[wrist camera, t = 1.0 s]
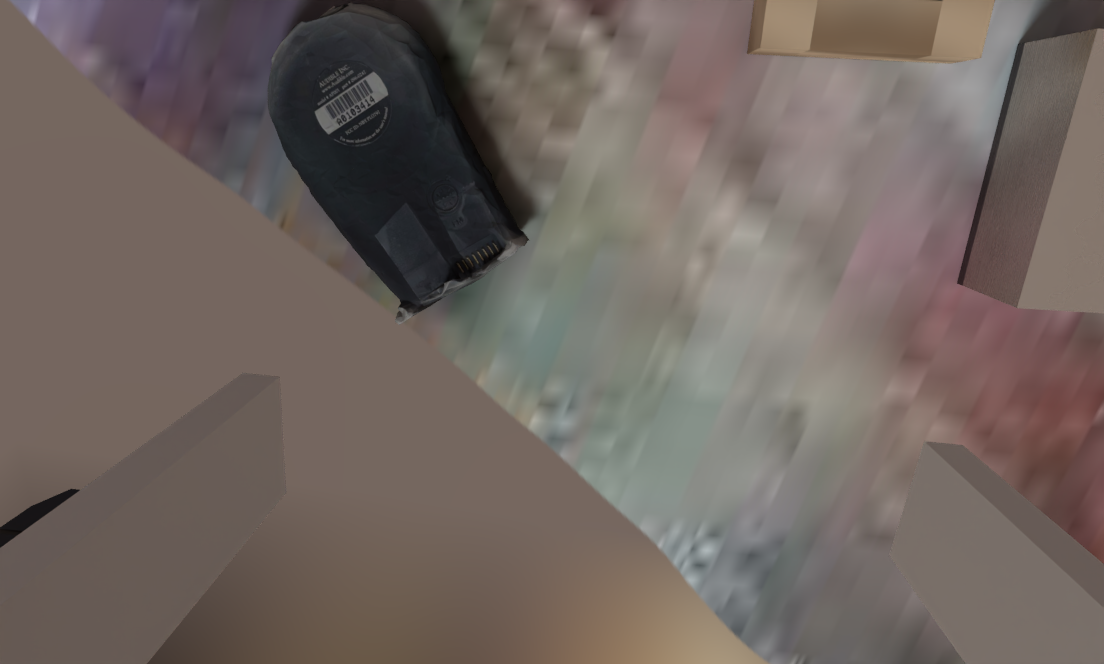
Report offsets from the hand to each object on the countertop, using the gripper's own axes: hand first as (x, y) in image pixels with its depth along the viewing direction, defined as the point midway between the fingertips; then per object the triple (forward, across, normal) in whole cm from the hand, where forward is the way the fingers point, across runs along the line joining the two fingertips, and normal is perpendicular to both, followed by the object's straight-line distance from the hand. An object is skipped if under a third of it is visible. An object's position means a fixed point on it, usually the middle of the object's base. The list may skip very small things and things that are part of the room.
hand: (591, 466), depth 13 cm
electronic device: (+24, -11, +4) cm, 26 cm away
